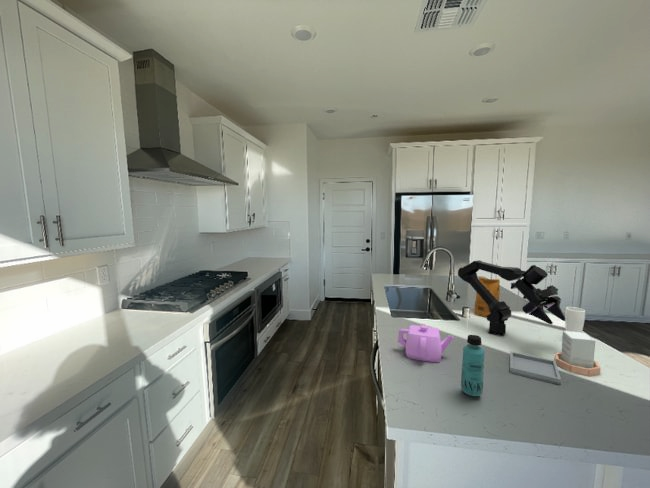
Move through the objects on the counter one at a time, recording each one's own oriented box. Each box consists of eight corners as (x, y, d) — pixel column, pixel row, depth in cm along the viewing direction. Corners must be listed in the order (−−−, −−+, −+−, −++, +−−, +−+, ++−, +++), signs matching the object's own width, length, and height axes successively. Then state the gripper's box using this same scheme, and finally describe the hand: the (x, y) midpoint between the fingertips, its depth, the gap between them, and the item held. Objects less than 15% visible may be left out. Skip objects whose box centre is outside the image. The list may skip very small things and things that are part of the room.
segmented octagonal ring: (557, 369, 108) (557, 362, 107) (553, 355, 118) (553, 349, 118) (602, 379, 101) (603, 372, 100) (594, 363, 111) (594, 357, 111)
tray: (510, 372, 106) (510, 367, 105) (510, 355, 118) (510, 351, 118) (560, 385, 98) (561, 379, 98) (555, 365, 110) (555, 360, 110)
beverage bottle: (456, 389, 96) (458, 332, 94) (475, 387, 97) (477, 331, 95) (467, 401, 90) (470, 341, 88) (487, 400, 90) (490, 340, 88)
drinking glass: (586, 344, 127) (589, 312, 125) (569, 343, 128) (571, 311, 127) (576, 337, 134) (579, 307, 132) (559, 336, 135) (562, 306, 133)
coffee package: (477, 310, 173) (479, 274, 170) (500, 315, 164) (502, 278, 161) (471, 314, 166) (473, 277, 163) (495, 320, 157) (497, 281, 155)
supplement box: (582, 363, 112) (585, 332, 110) (593, 373, 105) (596, 340, 103) (559, 360, 114) (562, 330, 113) (568, 369, 107) (571, 337, 106)
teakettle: (394, 350, 125) (395, 322, 123) (423, 341, 132) (424, 316, 131) (423, 368, 109) (424, 338, 108) (454, 358, 117) (455, 329, 115)
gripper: (529, 282, 117) (561, 315, 107) (555, 277, 124) (587, 307, 114) (510, 297, 124) (539, 329, 114) (536, 292, 132) (565, 321, 122)
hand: (558, 321), depth 116 cm, fingers open, 9 cm apart
